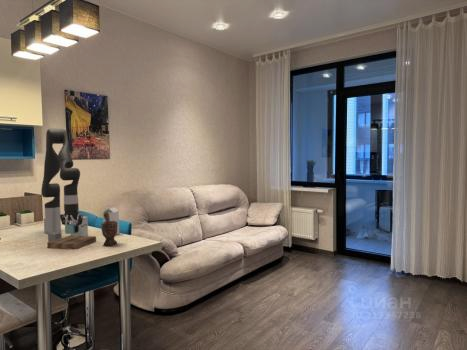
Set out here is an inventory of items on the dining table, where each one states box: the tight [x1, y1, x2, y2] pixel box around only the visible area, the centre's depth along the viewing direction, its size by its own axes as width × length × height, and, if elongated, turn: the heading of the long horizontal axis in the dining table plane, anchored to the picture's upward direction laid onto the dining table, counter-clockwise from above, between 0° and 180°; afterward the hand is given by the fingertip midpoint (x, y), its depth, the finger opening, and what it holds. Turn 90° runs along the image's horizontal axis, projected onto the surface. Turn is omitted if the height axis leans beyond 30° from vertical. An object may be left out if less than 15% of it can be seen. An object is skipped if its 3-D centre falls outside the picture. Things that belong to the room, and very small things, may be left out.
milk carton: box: [102, 204, 120, 236], centre depth 215 cm, size 7×7×19 cm
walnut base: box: [46, 234, 97, 250], centre depth 191 cm, size 18×18×3 cm
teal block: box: [64, 223, 79, 235], centre depth 190 cm, size 5×5×5 cm
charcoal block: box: [47, 232, 63, 243], centre depth 199 cm, size 5×5×5 cm
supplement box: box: [70, 216, 89, 236], centre depth 210 cm, size 7×7×13 cm
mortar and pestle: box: [100, 211, 118, 247], centre depth 187 cm, size 12×9×20 cm
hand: (72, 232), depth 190 cm, fingers closed on teal block, 5 cm apart
